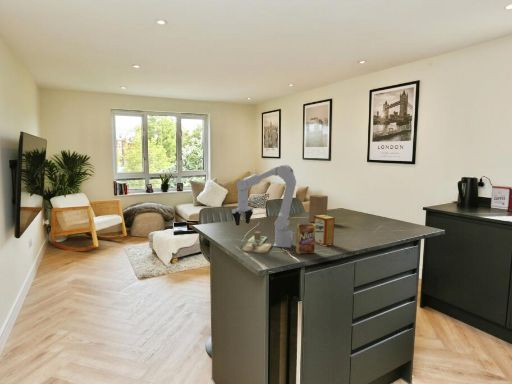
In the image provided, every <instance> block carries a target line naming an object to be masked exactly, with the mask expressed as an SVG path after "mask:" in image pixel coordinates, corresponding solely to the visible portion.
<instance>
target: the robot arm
mask: <svg viewBox="0 0 512 384" xmlns="http://www.w3.org/2000/svg"><path fill="white" fill-rule="evenodd" d="M272 176H278V177H280V179H282V180H283V181H284V183H285V189H284V193H283V197H282V201H281V202H282V203H281V207H280V209H279V213H278V215H277V218H276V220H275V221H274V227H275V233H274V235H275V236H274V244H272V247H276V248H278V247H280V248H292V246H293V230H291V229H290V228H289V227H288V226H289V224H290V223H291V222H290V211H291V206H292V203H293V198H294V194H295V189H296V185H297V179H296V176H295V173H294V169H293V168H292V167H291V166H290V165H287V164H284V165H283V164H282V165H279V166H276V167H273V168H269V169H267V170H266V171H264V172H261V173H260V174H256V173H251V174H250V176H246V177H243V179H239V180H238V181H237V182H236V188H237V208H234V209H231V215H232V217H233V219H234V222H235V226H237V227H238V226H240V221H241V215H242V213H243V212H244V216H245V224H250V221H251V218H252V216H253V215H254V207H253V206H250V207H249V206H248V205H249V188H251V187H254V186H255V185H259V184H261V181H262V180H264V179H267V178H270V177H272Z"/></svg>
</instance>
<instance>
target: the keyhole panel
mask: <svg viewBox="0 0 512 384" xmlns="http://www.w3.org/2000/svg"><path fill="white" fill-rule="evenodd" d="M261 234H262V233H261V231H254V234H253V235H252V236H251V237H250V238H249V239H247V242H246V244H247V243H248V242H251V243H255V240H260V243H262V244H264V242H266V240H267V239H268V236H264V235H263V236H262V235H261Z"/></svg>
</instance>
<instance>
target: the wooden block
mask: <svg viewBox="0 0 512 384" xmlns="http://www.w3.org/2000/svg"><path fill="white" fill-rule="evenodd" d="M328 200H329V196H328V195H324V194H323V195H322V194H312V195H309V202H308V203H309V204H308V205H309V208H308V223H311V222H314V216H317V215H327V216H328V203H329V201H328Z"/></svg>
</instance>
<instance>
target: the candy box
mask: <svg viewBox="0 0 512 384" xmlns="http://www.w3.org/2000/svg"><path fill="white" fill-rule="evenodd" d="M296 226H297V227H296V245H295V252H296V254H297V255H298V254H301V253H314V254H315V244H316V243H315V230H316V225H315V224H314V223H311V222H308V223H307V222H303V223H302V222H297V225H296Z"/></svg>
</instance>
